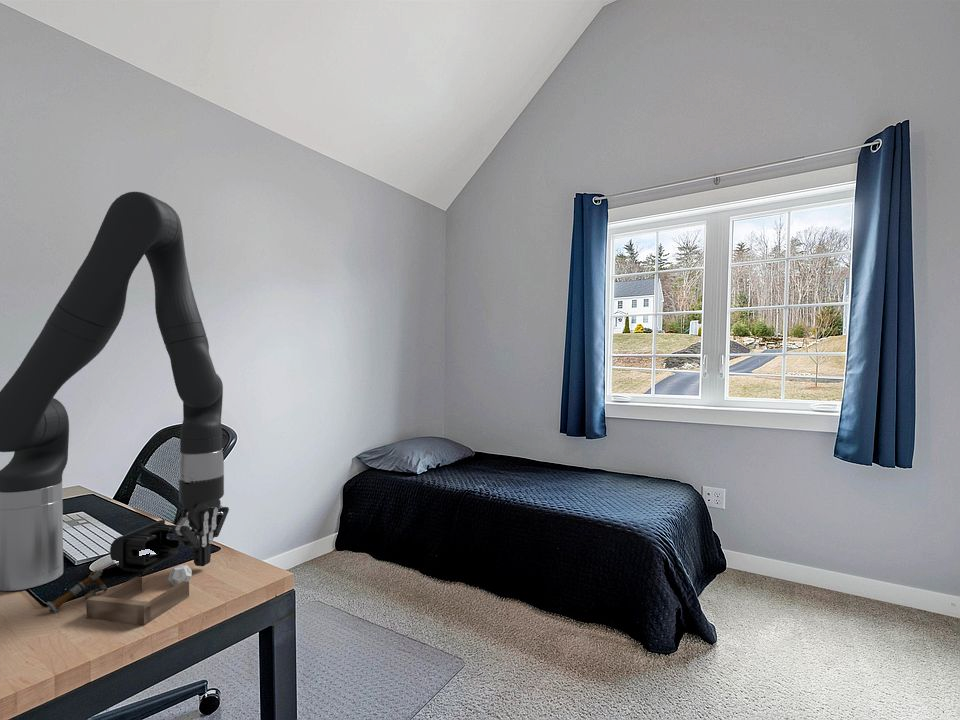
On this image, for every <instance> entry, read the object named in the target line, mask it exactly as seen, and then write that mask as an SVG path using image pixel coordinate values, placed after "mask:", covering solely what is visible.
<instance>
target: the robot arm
mask: <svg viewBox="0 0 960 720" xmlns="http://www.w3.org/2000/svg"><path fill="white" fill-rule="evenodd" d="M102 220H103V221H102V222H101V225H100V226H99V227H100V228H99V229H98V231H97V234H96V236H95V238H94V241H93V242H92V245H91V246H90V249H89V251H88V253H87V255H86V257H85V258H84V260H83V262H82V264H81V265H80V267H79V268H78V270H77V272H76V273H75V275H74V276H73V278H72V280H71V282H69V285H68V287H67V289H66V290H65V291H64V293H63V294H62V296H61V297H60V299H59V300H58V302H57V304H56V305H55V306H54V309H53V310H52V312H51V313H50V315H49V317H48V318H47V320H46V322H45V324H44V326H43V327H42V330H41V331H40V333H39V335H38V337H36V339H35V341H34V342H33V344H32V346H31V347H30V349H29V351H28V352H27V354H26V355H25V357H24V358H23V360H22V361H21V363H20V365H19V366H18V368H17V369H16V371H15V372H14V373H13V375H12V376H11V377H10V379H9V380H8V381H7V382H6V384H5V385H4V386H3V387H2V389H1V390H0V453H13V456H12V458H11V459H10V461H9V462H8V463H7V465H5V466H4V467H3V468H1V469H0V591H2V592H11V591H21V590H22V591H23V590H27V589H31V588H36V587H39V586H42V585H44V584H48V583H50V582H52V581H55V580H56V579H58V578H60V577H61V576H62V575H63V573H64V527H63V526H64V525H63V524H64V523H63V521H64V519H63V518H64V517H63V516H64V515H63V513H64V512H63V511H64V510H63V509H64V507H63V506H64V505H63V503H64V502H63V474H64V470H65V469H66V466H67V463H68V457H69V443H70V442H69V440H70V439H69V438H70V422H69V415H68V411H67V410H66V407H65V406H64V404H63V403H62V402H61V401H59V400H58V399H57V398H55V395H56V394H57V393H58V391H59V390H60V389H61V388H62V387H63V385H64V384H65V383H66V382H68V380H70V379H71V378H73V376H75V375H76V374H77V373H79V371H81V370H82V369H83V368H84V367H86V366H87V365H88V364H90V362H92V361H93V360H94V359H95V358H96V357H97V356H98V355H100V354H101V352H102V351H103V350H104V349H105V348H106V345H107V344H108V342H109V341H110V339H111V338H112V336H113V334H114V332H115V331H116V330H117V328H118V326H119V324H120V322H121V320H122V317H123V316H124V312H125V307H126V302H127V293H128V288H129V283H130V281H131V280H130V279H131V278H132V274H133V273H134V271H135V269H136V267H137V266H138V264H139V263H140V261H141V260H142V258H143V257H144V256H145V258H146V260H147V262H148V264H149V267H150V271H151V274H152V277H153V278H152V279H153V284H154V302H155V303H154V306H155V308H154V309H155V315H156V321H157V324H158V328H159V331H160V334H161V335H160V336H161V337H162V341H163V344H164V348H165V350H166V351H167V354H168V356H169V360H170V364H171V365H170V366H171V370H172V376H173V380H174V381H173V382H174V385H175V388H176V392H177V394H178V397H179V398H180V399H181V401H182V409H183V410H182V415H183V416H182V417H183V419H182V420H183V421H182V423H181V426H180V434H179V435H180V436H179V441H180V442H179V443H180V446H179V448H180V449H179V450H180V451H179V452H180V453H179V460H178V500H179V502H180V503H181V504H182V505H183V510H182V512H181V520H180V521H179V523H178V525H176V524H173V525H174V526H173V527H172V532H173V533H174V534H173V533H172V534H173V535H174V536H175V537H176V539H179V540H180V544H182V545H183V546H184V547H186V548H188V547H189V548H190V547H191V548H193V563H194V565H195V566H196V567H205V566H207V565H208V564H210V563H211V556H212V554H211V551H212V549H211V546H212V543H213V542H214V539H215V538H218V537H219V535H220V533H221V530H222V528H223V527H224V526H223V525H224V523H225V521H226V519H227V516H228V513H229V511H230V508H229V507H228V506H223V505H221V504H222V502H221V500H220V499H222V498H223V497H224V495H225V465H224V463H225V461H224V453H223V428H222V411H223V410H222V409H223V397H224V395H223V394H224V384H223V381H222V378H221V377H220V376H219V374H218V373H217V372H216V370H215V369H216V368H215V366H214V364H213V363H214V362H213V360H212V358H211V354H210V346H209V345H210V344H209V340H208V337H207V333H206V330H205V327H204V324H203V321H202V317H201V315H200V312H199V308H198V304H197V301H196V298H195V294H194V291H193V286H192V282H191V278H190V273H189V267H188V263H187V258H186V251H185V250H186V249H185V241H184V232H183V227H182V221H181V218H180V216H179V214H178V213H177V211H176V210H175V209H174V208H173V207H172V206H170V205H169V204H168V203H167V202H164V201H163V200H160V199H159V198H157V197H154V196H152V195H150V194H148V193H147V192H146V193H145V192H141V191H129V192H125V193H123V194H120V195H119V196H118V197H117V198H115V200H114V201H113V202H112V203H111V204H110V206H109V207H108V209H107V211H106V213H105V216H104V218H103V219H102Z"/></svg>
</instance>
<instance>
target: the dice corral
mask: <svg viewBox="0 0 960 720" xmlns="http://www.w3.org/2000/svg"><path fill="white" fill-rule="evenodd" d="M142 592H143V577H142V576H135V577H133V578H131V579H129V580H127V581H125V582H123V583H122V584H120V585H118V586H116V587H114V588H112V589H110V590H107V591H106V592H104V593H102V594H100V595H96V596H92V597H90V598H88V599H86V601H85V603H86V619H88V620H97V621H106V622H114V623H122V624H123V623H124V624H130V625H138V626H139V625H140V626H141V625H142V626H146V625H147V624H149V623H150V622H152V621H153V620H155V619H157V618H158V617H159V616H162V615H163V614H164V613H166V612H167V611H168V610H170V609H172V608H174V607H175V606H176V605H178V604H180V603H181V602H182V601H184V600H186V599H187V598H189V597H190V581H188V582H186V581H182V582H181V583H179V584H177V585H176V586H172V587H170V588H169V589H167V590H166V591H164V592H162V593H161V594H159V595H157V596H155V597H154V598H152V599H151V600H148V601H146V600H137V599H133V598H134V597H135V596H137V595H139V594H141V593H142Z"/></svg>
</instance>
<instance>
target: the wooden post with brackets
mask: <svg viewBox="0 0 960 720" xmlns="http://www.w3.org/2000/svg"><path fill="white" fill-rule="evenodd" d="M103 571H104V570H103V569H102V568H100V569H98V570H97V569H96V570H95V571H91V572H89V575H88V577H87V578H85V579H83V580H82V581H79V582H78V584H75V585H74V586H73V587H72V588H71V589H69V591H68V592H66V593H65V594H63V595H61V596H59V597H58V598H56V599H55V600H53V601H51V602H50V601H47V602H45V604H46V605H47V607H48V608H49V610H50V611H54V613H55V614H57V613H58V612H59V609H60V608H61V607H62V606H63V605H64V604H65V603H66V602H67V601H69V600H70V599H71V598H73V596H76V595H77V594H79V593H80V592H81V591H83V590H85V589H86V587H88V585H98V588H95V589H94V590H93V589H90V591H89V592H88V593H86V594H84V595H83V596H84V597H83V598H82V601H83V602H86V599H88V598H90V597H92V596H97V593H99V591H100V590H101V591H102V592H104V593H106V592H108V591H109V589H108V587H107V585H106V584H105V583H104V582H103V581H102V579H101V578H100V576H102V573H103ZM94 581H95V582H94Z"/></svg>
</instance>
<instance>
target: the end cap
mask: <svg viewBox="0 0 960 720" xmlns="http://www.w3.org/2000/svg"><path fill="white" fill-rule="evenodd" d="M174 525H175V524H166V520H165V519H161V520H158V521H154V522H152V523H150V524H148V525H145V526H143V527H142V526H141V527H140V528H138V529H135V530H133V531H130V532H128V533H126V534H123V535H121V536H118V537H117V538H115V539H114V540H113V541H112V543H111V545H110V548H109V554H110V555H109V556H110V558H111V561H112V560H116V561H119V565H118V566H117V567H118V568H120V569H121V570H123V571H125V572H130V571H132V573H141V572H142V573H146V572H148V571H150V570H152V569H153V567H154V568H155V566H156V567H157V565H158V566H159V564H160V565H161V563H162V562H163V563H165V562H167V561H169V560H171V559H173V558H174V556H175V557H177V556H179V555H180V551H179V549H180V548H181V541H180V540H179V539H178V538H170V537H169V534H173V535H175V534H174V533H173V532H172V527H173V526H174ZM145 549H150V550H152V551H154V552H155V553H156V554H158V553H159V554H158V555H157V556H155V557H149V555H150V553H149V554H146V555H142V556H139V551H141V550H145ZM178 554H179V555H178ZM176 555H177V556H176ZM172 557H173V558H172ZM170 558H171V559H170ZM168 559H169V560H168ZM166 560H167V561H166ZM164 561H165V562H164ZM163 563H162V564H163ZM151 568H152V569H151ZM149 569H150V570H149ZM147 570H148V571H147Z"/></svg>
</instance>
